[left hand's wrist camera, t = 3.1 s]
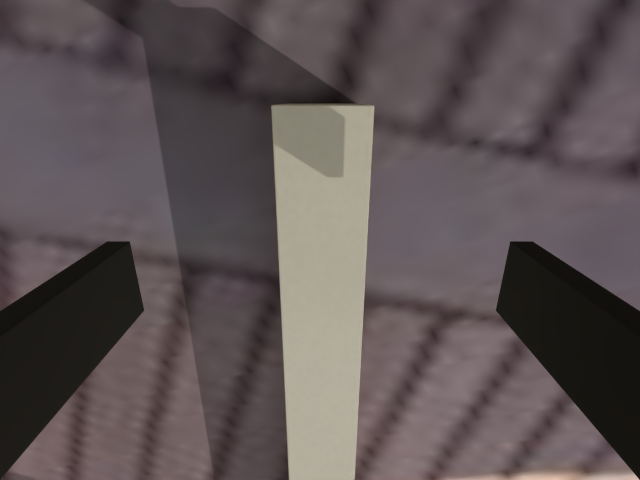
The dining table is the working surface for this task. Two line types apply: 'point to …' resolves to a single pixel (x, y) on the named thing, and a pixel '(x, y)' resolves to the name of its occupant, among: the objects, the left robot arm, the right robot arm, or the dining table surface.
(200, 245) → the dining table surface
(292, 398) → the post
